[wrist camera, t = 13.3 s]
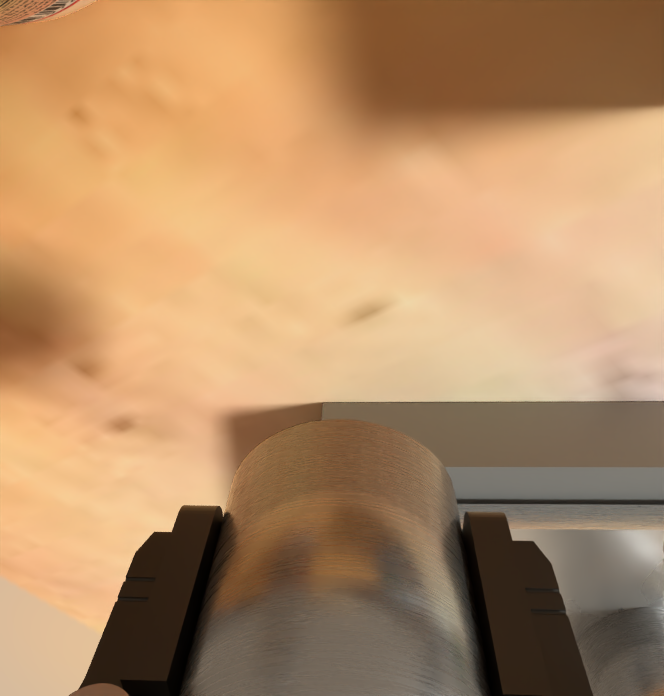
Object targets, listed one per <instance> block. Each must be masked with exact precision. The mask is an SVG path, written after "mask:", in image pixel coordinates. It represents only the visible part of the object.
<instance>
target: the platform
mask: <svg viewBox="0 0 664 696" xmlns="http://www.w3.org/2000/svg"><path fill="white" fill-rule="evenodd" d="M457 506H458V511H459V517H460V522H461V528H462V529H463V520H464V514H465V512H503V513H504V514H505V515H506V518H507V521H508V525H509V529H510V533H511V537H512V540H513V541H534V542H535V544H536V545H537V546H538V547H539V549H540V550H541V551H542V552H543V554H544V555H545V556H546V557H547V559H548V560H549V561H550V562H551V564H552V567H553V570H554V573H555V576H556V579H557V583H558V586H559V592H560V594H561V595H562V598H563V601H564V605H565V608H566V615H568V617H569V620H570V624H571V627H572V630H573V633H574V636H575V639H576V642H577V643H578V641H579V639H580V637H581V636H582V634H583V633H584V632H585V631H586V630H587V629H588V628H589V627H590V626H591V625H593V624H594V623H595V622H597V621H599V620H600V619H602V618H604V617H606V616H608V615H611V614H613V613H616V612H619V611H623V610H626V609H631V608H638V607H664V505H596V504H457Z"/></svg>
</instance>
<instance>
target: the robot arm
mask: <svg viewBox="0 0 664 696" xmlns="http://www.w3.org/2000/svg"><path fill="white" fill-rule="evenodd" d="M222 521H223V513H222V509H221V507H220V506H190V505H184V506H182V507H181V509H180V511H179V513H178V516H177V519H176V522H175V524H174V527H173V530H172V532H154V533H153V534H152V535H151V536H150V537H149V538H148V539H147V541H146V542H145V543H144V544H143V545H142V546H141V547H140V548H139V549H138V551H137V552H136V553H135V555H134V558H133V560H132V563H131V565H130V568H129V570H128V573H127V575H126V581H125V582H123V585H122V587H121V590H120V592H119V595H118V601H117V602H115V605H114V607H113V610H112V612H111V615H110V617H109V620H108V622H107V625H106V627H105V629H104V632H103V634H102V637H101V639H100V642H99V644H98V647H97V649H96V652H95V654H94V657H93V659H92V662H91V664H90V667H89V669H88V672H87V674H86V676H85V679H84V680H83V683H82V684H81V686H80V688H79V689H78V690H77V691H75V692H73V693H72V694H70V695H69V696H178V695H179V691H180V687H181V684H182V680H183V676H184V672H185V668H186V664H187V660H188V656H189V652H190V648H191V644H192V640H193V636H194V632H195V628H196V624H197V620H198V616H199V612H200V608H201V604H202V600H203V596H204V592H205V588H206V584H207V580H208V576H209V572H210V568H211V564H212V561H213V557H214V553H215V549H216V545H217V541H218V537H219V533H220V529H221V525H222ZM462 533H463V539H464V544H465V549H466V555H467V560H468V566H469V571H470V576H471V582H472V587H473V593H474V598H475V604H476V609H477V614H478V620H479V625H480V631H481V636H482V642H483V647H484V652H485V658H486V663H487V669H488V674H489V680H490V685H491V690H492V696H593V693H592V690H591V686H590V683H589V680H588V677H587V674H586V671H585V668H584V664H583V661H582V658H581V655H580V652H579V649H578V646H577V642H576V639H575V636H574V633H573V630H572V627H571V624H570V620H569V617H568V615H566V608H565V605H564V601H563V598H562V595H561V594H560V592H559V586H558V583H557V579H556V576H555V573H554V570H553V567H552V564H551V562H550V561H549V560H548V559H547V557H546V556H545V555H544V554H543V552H542V551H541V550H540V549H539V547H538V546H537V545H536V544H535V542H534V541H513V540H512V537H511V533H510V529H509V525H508V521H507V518H506V515H505V514H504V513H503V512H465V514H464V520H463V529H462Z"/></svg>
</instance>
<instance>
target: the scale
mask: <svg viewBox="0 0 664 696" xmlns="http://www.w3.org/2000/svg"><path fill="white" fill-rule="evenodd" d="M327 419H350V420H361V421H367V422H372V423H377V424H380V425H383V426H387V427H390V428H393V429H395V430H397V431H400V432H402V433H404V434H406V435H408V436H410V437H412V438H413V439H415V440H417V441H418V442H420V443H421V444H422V445H424V446H425V447H426V448H428V449H429V450H430V451H431V452H432V453H433V454H434V455H435V456H436V457H437V458H438V459H439V460H440V462H441V463H442V465H443V466H444V467H445V469H446V470H447V472H448V474H449V476H450V478H451V480H452V484H453V487H454V490H455V495H456V501H457V504H596V505H664V402H429V403H323V405H322V418H321V420H327Z"/></svg>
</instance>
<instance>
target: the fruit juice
mask: <svg viewBox="0 0 664 696" xmlns="http://www.w3.org/2000/svg"><path fill="white" fill-rule="evenodd" d="M96 1H97V0H0V26H5V25H15V24H26V23H36V22H44V21H49V20H54V19H57V18H61V17H64V16H67V15H69V14H72V13H74V12H76V11H78V10H81V9H83V8H85V7H87V6H89V5H90V4H92V3H94V2H96Z"/></svg>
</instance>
